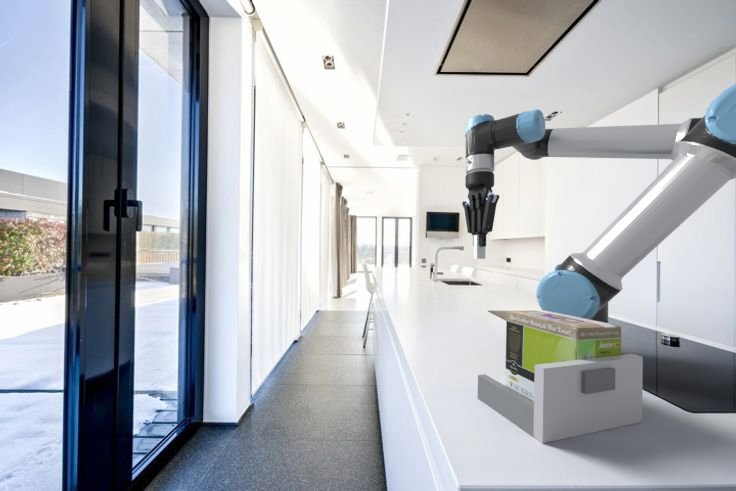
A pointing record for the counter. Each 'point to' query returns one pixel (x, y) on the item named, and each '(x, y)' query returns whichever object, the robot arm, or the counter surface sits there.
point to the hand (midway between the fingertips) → (479, 258)
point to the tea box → (552, 343)
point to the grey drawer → (572, 397)
